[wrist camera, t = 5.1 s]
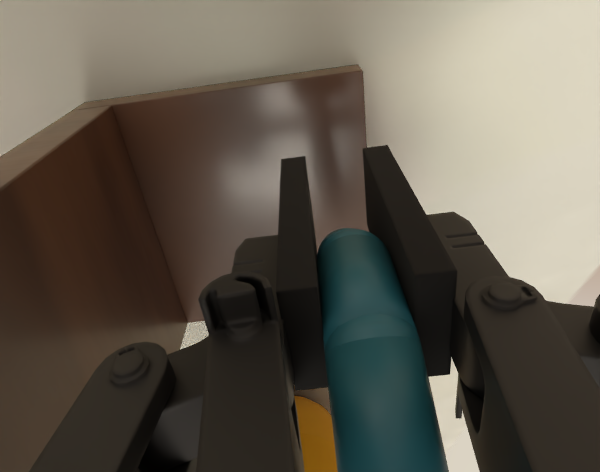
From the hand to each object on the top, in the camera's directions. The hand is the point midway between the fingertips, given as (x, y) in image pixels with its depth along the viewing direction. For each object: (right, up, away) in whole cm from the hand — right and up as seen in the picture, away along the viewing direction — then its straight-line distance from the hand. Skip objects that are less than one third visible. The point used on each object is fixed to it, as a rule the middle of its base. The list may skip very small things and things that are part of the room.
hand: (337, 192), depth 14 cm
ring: (+1, -7, -2) cm, 7 cm away
